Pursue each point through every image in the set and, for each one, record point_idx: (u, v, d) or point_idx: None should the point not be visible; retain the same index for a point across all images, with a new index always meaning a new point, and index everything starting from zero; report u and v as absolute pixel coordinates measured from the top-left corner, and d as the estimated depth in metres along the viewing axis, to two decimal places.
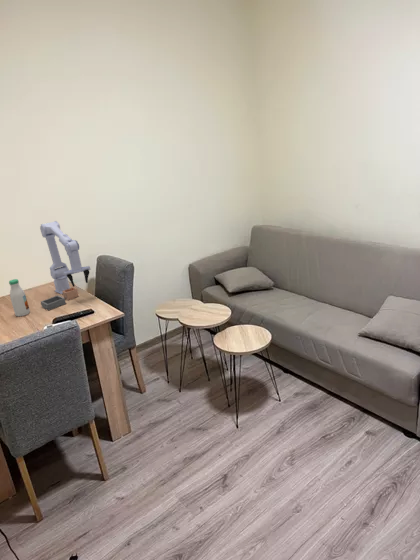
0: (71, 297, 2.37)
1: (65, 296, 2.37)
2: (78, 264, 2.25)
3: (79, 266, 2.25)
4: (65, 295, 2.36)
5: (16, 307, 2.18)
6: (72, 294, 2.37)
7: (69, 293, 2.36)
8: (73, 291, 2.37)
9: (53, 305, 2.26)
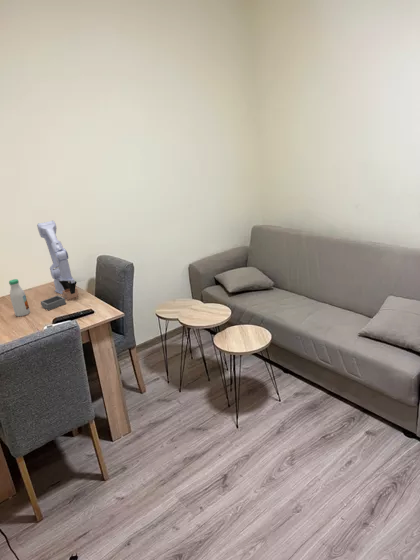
0: (71, 297, 2.37)
1: (65, 296, 2.37)
2: (62, 273, 2.32)
3: (62, 276, 2.32)
4: (65, 295, 2.36)
5: (16, 307, 2.18)
6: (72, 294, 2.37)
7: (69, 293, 2.36)
8: None
9: (53, 305, 2.26)
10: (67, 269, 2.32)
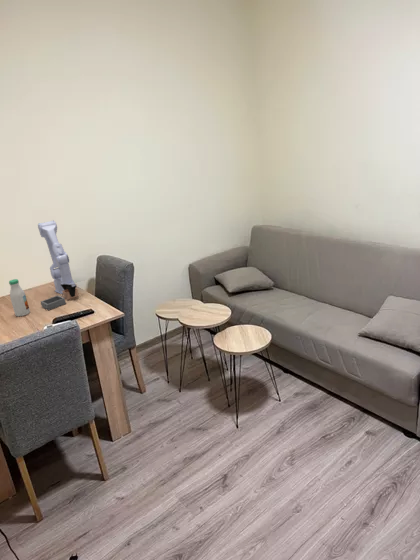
0: (71, 297, 2.37)
1: (65, 296, 2.37)
2: (62, 277, 2.33)
3: (63, 279, 2.33)
4: (65, 295, 2.36)
5: (16, 307, 2.18)
6: None
7: (69, 293, 2.36)
8: None
9: (53, 305, 2.26)
10: (68, 273, 2.33)
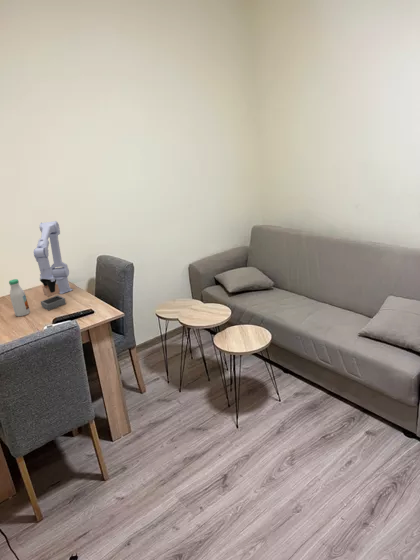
0: (51, 293, 2.26)
1: (45, 292, 2.25)
2: (41, 271, 2.21)
3: (42, 274, 2.21)
4: (45, 291, 2.25)
5: (16, 307, 2.18)
6: None
7: (49, 289, 2.24)
8: None
9: (53, 305, 2.26)
10: (44, 267, 2.20)
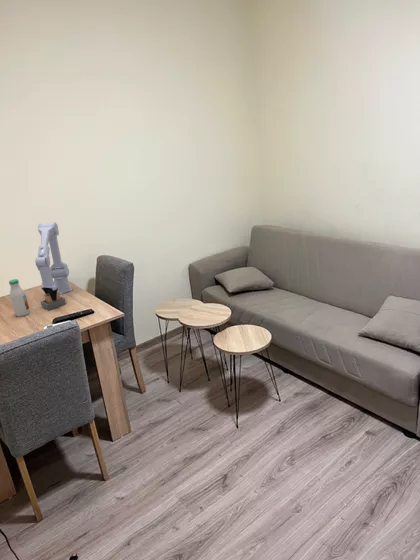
0: (53, 301, 2.27)
1: (47, 301, 2.27)
2: (43, 280, 2.23)
3: (44, 282, 2.23)
4: (47, 299, 2.26)
5: (16, 307, 2.18)
6: None
7: None
8: None
9: (53, 305, 2.26)
10: (46, 276, 2.22)
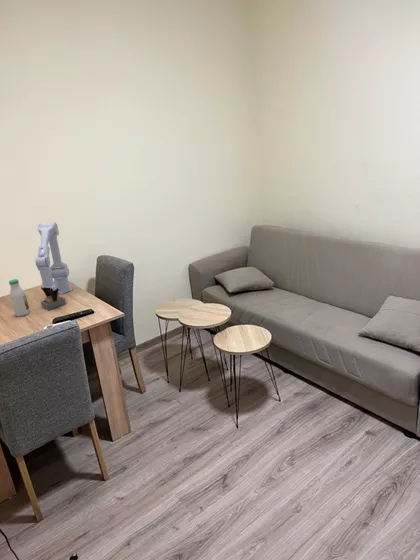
0: None
1: (47, 303, 2.28)
2: (43, 280, 2.23)
3: (44, 282, 2.23)
4: (47, 302, 2.27)
5: (16, 307, 2.18)
6: None
7: (52, 300, 2.27)
8: None
9: (53, 305, 2.26)
10: (46, 276, 2.22)
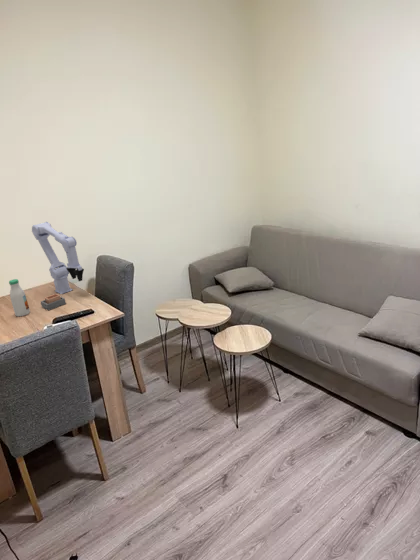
0: None
1: (47, 303, 2.28)
2: (69, 261, 2.33)
3: (70, 263, 2.33)
4: (47, 302, 2.27)
5: (16, 307, 2.18)
6: None
7: (52, 300, 2.27)
8: (56, 298, 2.28)
9: (53, 305, 2.26)
10: (76, 256, 2.33)
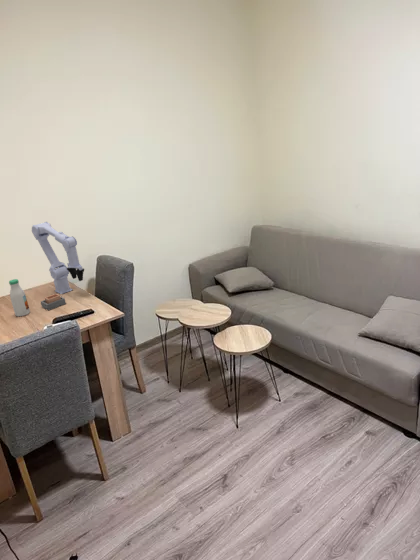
0: None
1: (47, 303, 2.28)
2: (69, 260, 2.33)
3: (70, 263, 2.33)
4: (47, 302, 2.27)
5: (16, 307, 2.18)
6: None
7: (52, 300, 2.27)
8: (56, 298, 2.28)
9: (53, 305, 2.26)
10: (76, 256, 2.34)
